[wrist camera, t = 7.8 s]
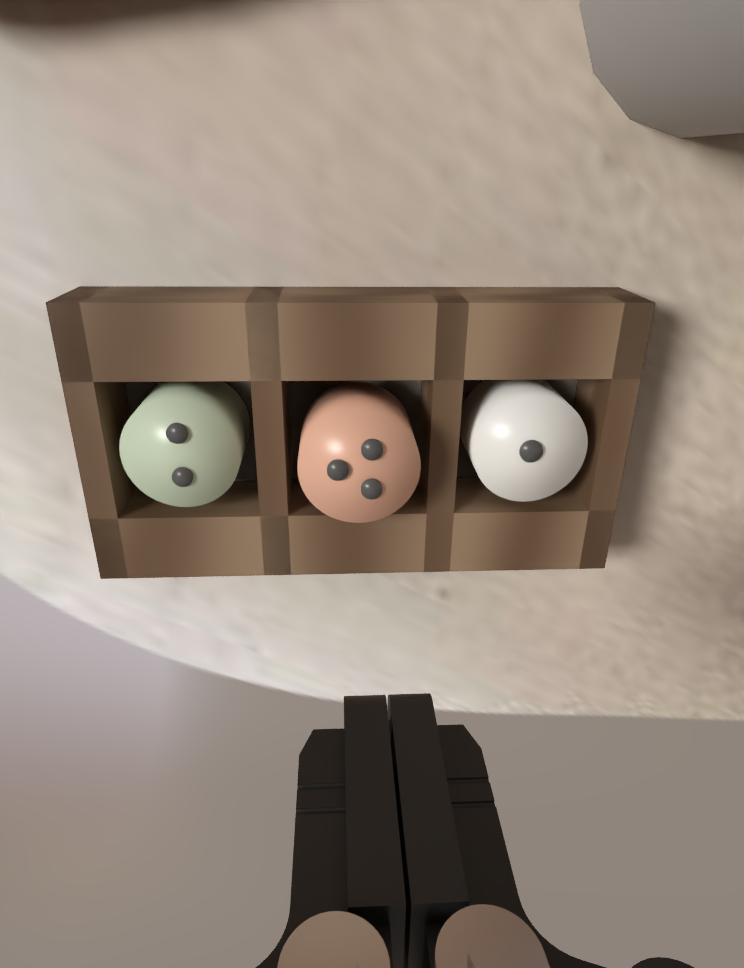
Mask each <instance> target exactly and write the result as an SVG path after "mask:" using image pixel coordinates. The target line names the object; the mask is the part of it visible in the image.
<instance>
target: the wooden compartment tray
mask: <svg viewBox="0 0 744 968" xmlns="http://www.w3.org/2000/svg"><path fill="white" fill-rule="evenodd" d="M46 306H47V311H48V316H49V321H50V326H51V331H52V336H53V341H54V347H55V352H56V357H57V362H58V367H59V372H60V377H61V382H62V387H63V392H64V397H65V402H66V407H67V412H68V417H69V422H70V427H71V432H72V437H73V442H74V447H75V452H76V457H77V462H78V467H79V472H80V477H81V482H82V487H83V492H84V497H85V502H86V507H87V512H88V517H89V522H90V527H91V532H92V537H93V542H94V547H95V552H96V557H97V562H98V567H99V572H100V577H101V579H108V578H156V577H204V576H251V575H299V574H347V573H395V572H443V571H490V570H538V569H586V568H605V563H606V558H607V553H608V547H609V542H610V537H611V532H612V527H613V521H614V516H615V511H616V506H617V501H618V495H619V490H620V485H621V480H622V475H623V469H624V464H625V459H626V454H627V448H628V443H629V438H630V433H631V428H632V422H633V417H634V412H635V407H636V402H637V396H638V391H639V386H640V381H641V376H642V370H643V365H644V360H645V355H646V349H647V344H648V339H649V334H650V329H651V323H652V318H653V313H654V308H655V303H654V302H652V301H650V300H647V299H645V298H643V297H640V296H638V295H635V294H633V293H631V292H628V291H626V290H624V289H621V288H619V287H78V288H76V289H74V290H71V291H69V292H67V293H65V294H63V295H61V296H59V297H57V298H54V299H52V300H50V301H48V302H46ZM542 379H578V382H577V388H576V395H575V402H574V408H573V409H574V410H575V411H576V412H577V413H578V414H579V415H580V417H581V419H582V420H583V422H584V425H585V428H586V431H587V438H588V445H587V452H586V457H585V459H584V462H583V464H582V466H581V468H580V470H579V471H578V473H577V474H576V476H575V477H574V478H573V479H572V480H571V481H570V482H569V483H568V484H567V485H566V486H565V487H564V488H562V489H561V490H559V491H558V492H556V493H554V494H553V495H550V496H548V497H546V498H543V499H539V500H535V501H526V502H521V501H512V500H508V499H505V498H502V497H500V496H498V495H496V494H494V493H493V492H491V491H490V490H489V489H488V488H487V487H486V486H485V485H484V484H483V483H482V481H481V480H480V478H457V465H458V451H459V437H460V423H461V409H462V396H463V382H464V380H542ZM364 380H421V402H420V425H419V448H418V451H419V454H420V460H421V470H420V477H419V481H418V484H417V486H416V489H415V490H414V492H413V494H412V496H411V497H410V498H409V499H408V501H407V502H406V503H405V504H404V505H403V506H402V507H401V508H399V509H398V510H397V511H396V512H394V513H392V514H391V515H389V516H387V517H384V518H382V519H379V520H376V521H371V522H365V523H351V522H345V521H341V520H337V519H335V518H332V517H330V516H328V515H326V514H324V513H323V512H321V511H320V510H319V509H317V508H316V507H315V506H314V505H313V504H312V503H311V502H310V501H309V499H308V498H307V497H306V495H305V493H304V492H303V490H302V487H301V485H300V482H299V480H293V476H292V454H291V433H290V411H289V389H288V381H364ZM187 381H250V384H251V398H252V411H253V425H254V439H255V453H256V467H257V481H234V482H233V484H232V485H231V487H230V488H229V489H228V490H227V491H226V492H225V493H224V494H223V495H222V496H220V497H219V498H217V499H216V500H214V501H212V502H209V503H207V504H204V505H200V506H195V507H178V506H171V505H168V504H164V503H162V502H159V501H157V500H155V499H153V498H151V497H149V496H148V495H146V494H145V493H143V492H142V491H141V490H140V489H139V488H138V487H137V486H136V485H135V484H134V483H133V482H132V481H131V479H130V478H129V477H128V475H127V473H126V471H125V469H124V467H123V464H122V461H121V457H120V450H119V445H120V437H121V433H122V430H123V428H124V426H125V424H126V422H127V420H128V419H129V418H130V415H129V409H128V402H127V396H126V390H125V383H124V382H187Z"/></svg>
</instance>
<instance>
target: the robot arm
mask: <svg viewBox="0 0 744 968" xmlns="http://www.w3.org/2000/svg"><path fill="white" fill-rule="evenodd" d="M256 968H605V967H602V966H599V965H596V964H593V963H589V962H586V961H583V960H580V959H577V958H575V957H572V956H569V955H568V954H566V953H564V952H562V951H560V950H558V949H557V948H556V947H554V946H553V945H551V944H550V943H549V942H548V941H547V940H546V939H545V938H544V937H542V936H541V935H540V934H539V932H538V931H537V930H536V929H535V928H534V926H533V925H532V924H531V922H530V921H529V919H528V917H527V916H526V914H525V912H524V910H523V908H522V905H521V902H520V899H519V896H518V893H517V888H516V884H515V880H514V876H513V872H512V868H511V864H510V860H509V857H508V853H507V849H506V845H505V841H504V837H503V833H502V829H501V825H500V821H499V817H498V813H497V809H496V807H495V804H494V797H493V793H492V790H491V785H490V783H489V781H488V774H487V769H486V765H485V762H484V758H483V754H482V750H481V748H480V746H479V745H478V744H477V742H476V741H475V740H474V739H473V737H472V736H471V734H470V733H469V732H468V731H467V729H466V728H465V727H464V725H437V723H436V718H435V713H434V707H433V701H432V697H431V694H397V695H388V710H387V703H386V696H385V695H370V696H344V729H319V730H318V729H317V730H313V731H312V733H311V735H310V737H309V738H308V740H307V742H306V744H305V746H304V747H303V749H302V751H301V753H300V755H299V769H298V790H297V802H296V819H295V837H294V852H293V870H292V887H291V904H290V914H289V919H288V922H287V926H286V929H285V931H284V934H283V935H282V938H281V939H280V941H279V943H278V944H277V946H276V948H275V949H274V950H273V951H272V952H271V954H270V955H269V956H268V957H267V958H266V959H265V960H264V961H263V962H262V963H261V964H260V965H259V966H257V967H256ZM632 968H694V967H692V966H690V965H688V964H685V963H683V962H681V961H678V960H674V959H670V958H660V957H657V958H649V959H646V960H643V961H640V962H639V963H637V964H636V965H634V966H633V967H632Z"/></svg>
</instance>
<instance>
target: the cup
mask: <svg viewBox="0 0 744 968" xmlns="http://www.w3.org/2000/svg"><path fill="white" fill-rule="evenodd" d="M579 6H580V11H581V16H582V21H583V26H584V30H585V35H586V40H587V45H588V50H589V54H590V59H591V64H592V69H593V73H594V74H595V76H596V77H597V78H598V79H599V81H600V82H601V83H602V85H603V86H604V87H605V88H606V90H607V91H608V92H609V94H610V95H611V96H612V97H613V99H614V100H615V101H616V103H617V104H618V105H619V106H620V108H621V109H622V110H623V112H624V113H625V114H626V115H627V117H628V118H629V119H631V120H633V121H636V122H639V123H641V124H644V125H647V126H649V127H652V128H654V129H657V130H660V131H662V132H665V133H668V134H670V135H673V136H676V137H678V138H687V137H699V136H711V135H723V134H735V133H744V0H580V4H579Z"/></svg>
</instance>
